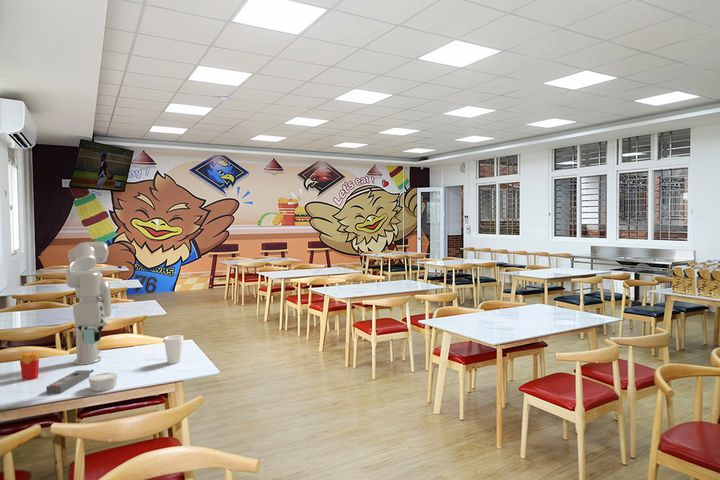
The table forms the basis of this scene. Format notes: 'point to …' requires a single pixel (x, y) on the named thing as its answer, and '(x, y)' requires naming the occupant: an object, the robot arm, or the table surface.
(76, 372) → the power strip
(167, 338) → the foam cup
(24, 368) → the french fries
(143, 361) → the table surface
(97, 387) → the ramekin
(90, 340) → the block
